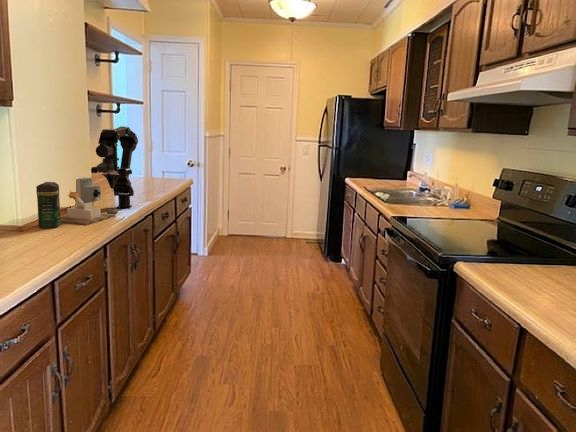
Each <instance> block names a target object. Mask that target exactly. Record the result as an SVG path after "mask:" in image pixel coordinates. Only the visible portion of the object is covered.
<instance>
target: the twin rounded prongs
mask: <svg viewBox="0 0 576 432" xmlns="http://www.w3.org/2000/svg"><path fill="white" fill-rule="evenodd" d="M118 212H119V211H118V209H117V208H114V209H111V210H108V211H107V212H106V214H115V215H116V214H117V213H118Z"/></svg>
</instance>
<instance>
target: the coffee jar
mask: <svg viewBox="0 0 576 432" xmlns="http://www.w3.org/2000/svg"><path fill="white" fill-rule="evenodd" d="M35 190H36V198H37V219H38V222H37V223H38V228H42V229H43V228H44V229H50V228H57V227H59V226H60V225H62V223H61V217H62V216H61V203H60V202H61V201H60V200H61V199H60V185H59V184H58V183H57V182H55V181H45V182H43V183H40V184H38V185H36V189H35Z"/></svg>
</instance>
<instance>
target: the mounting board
mask: <svg viewBox="0 0 576 432" xmlns="http://www.w3.org/2000/svg"><path fill="white" fill-rule="evenodd" d="M100 213H101V216H100V217H97V218H94V219H81V218H71V217H67V214H66V215H62V216H61V224H72V225H82V226H89V225H92V224H96V223H98V222H99V223H100V222H102V221H104V220H108V219H111V217H112V218H114V217H116V213H115V214H107V213H104V212H100Z"/></svg>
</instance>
